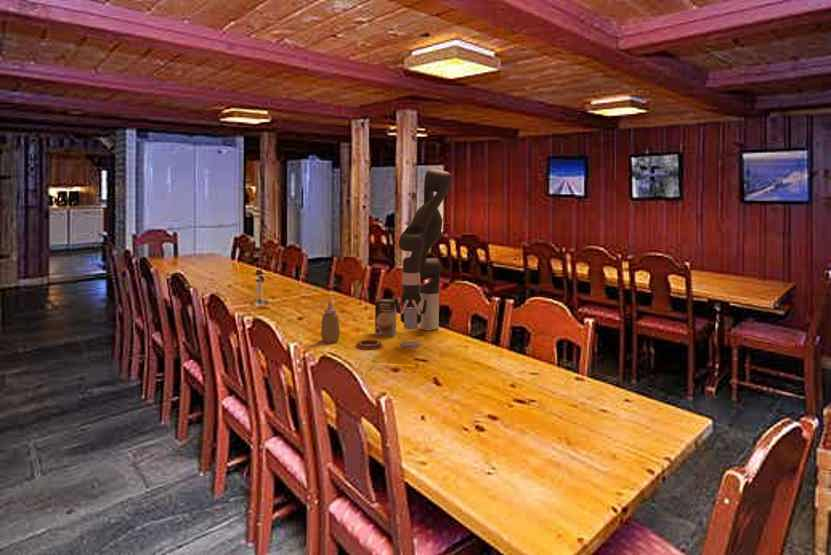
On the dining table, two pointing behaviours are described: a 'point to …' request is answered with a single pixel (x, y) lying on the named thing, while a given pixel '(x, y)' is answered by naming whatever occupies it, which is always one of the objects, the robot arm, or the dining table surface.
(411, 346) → the felt coaster
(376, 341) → the stand
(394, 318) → the coffee box
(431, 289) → the robot arm
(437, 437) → the dining table surface
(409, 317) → the jug
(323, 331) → the squeeze bottle
